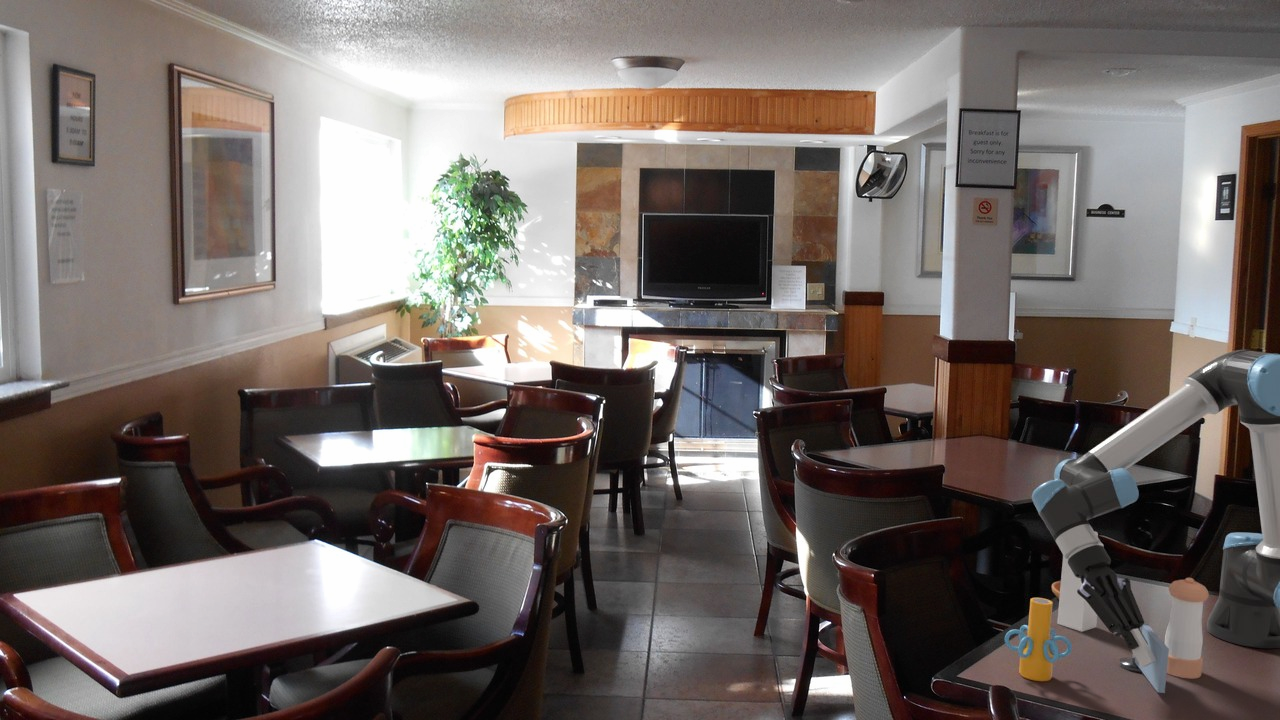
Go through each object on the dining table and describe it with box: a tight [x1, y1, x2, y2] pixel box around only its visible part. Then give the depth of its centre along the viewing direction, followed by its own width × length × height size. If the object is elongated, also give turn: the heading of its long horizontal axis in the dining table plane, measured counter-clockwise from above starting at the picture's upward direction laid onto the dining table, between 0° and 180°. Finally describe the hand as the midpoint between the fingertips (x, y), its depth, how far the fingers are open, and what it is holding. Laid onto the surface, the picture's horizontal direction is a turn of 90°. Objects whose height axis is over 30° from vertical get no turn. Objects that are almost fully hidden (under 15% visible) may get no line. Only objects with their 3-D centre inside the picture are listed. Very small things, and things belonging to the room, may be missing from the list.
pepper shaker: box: [1164, 577, 1210, 680], centre depth 210 cm, size 7×7×19 cm
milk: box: [1057, 531, 1104, 633], centre depth 234 cm, size 6×6×22 cm
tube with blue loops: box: [1004, 597, 1073, 682], centre depth 205 cm, size 12×10×15 cm
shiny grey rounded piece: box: [1118, 653, 1144, 674], centre depth 212 cm, size 6×6×4 cm
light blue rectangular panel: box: [1135, 620, 1169, 694], centre depth 203 cm, size 15×1×8 cm, turn 170°
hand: (1149, 663), depth 198 cm, fingers closed
